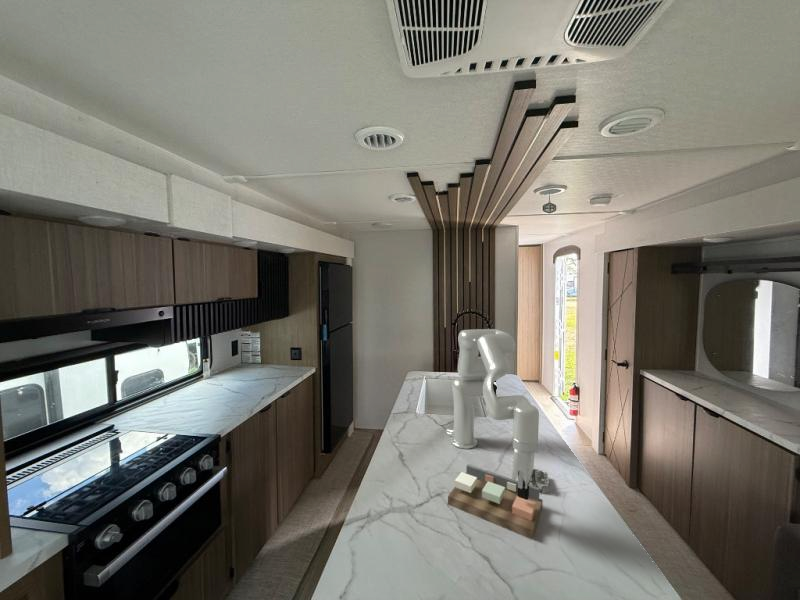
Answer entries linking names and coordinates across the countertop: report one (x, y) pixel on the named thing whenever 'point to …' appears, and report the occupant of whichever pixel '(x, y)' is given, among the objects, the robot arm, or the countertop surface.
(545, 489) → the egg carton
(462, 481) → the key cream
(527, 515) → the key terracotta
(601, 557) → the countertop surface
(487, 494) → the key sage
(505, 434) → the countertop surface
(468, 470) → the keypad
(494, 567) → the countertop surface
